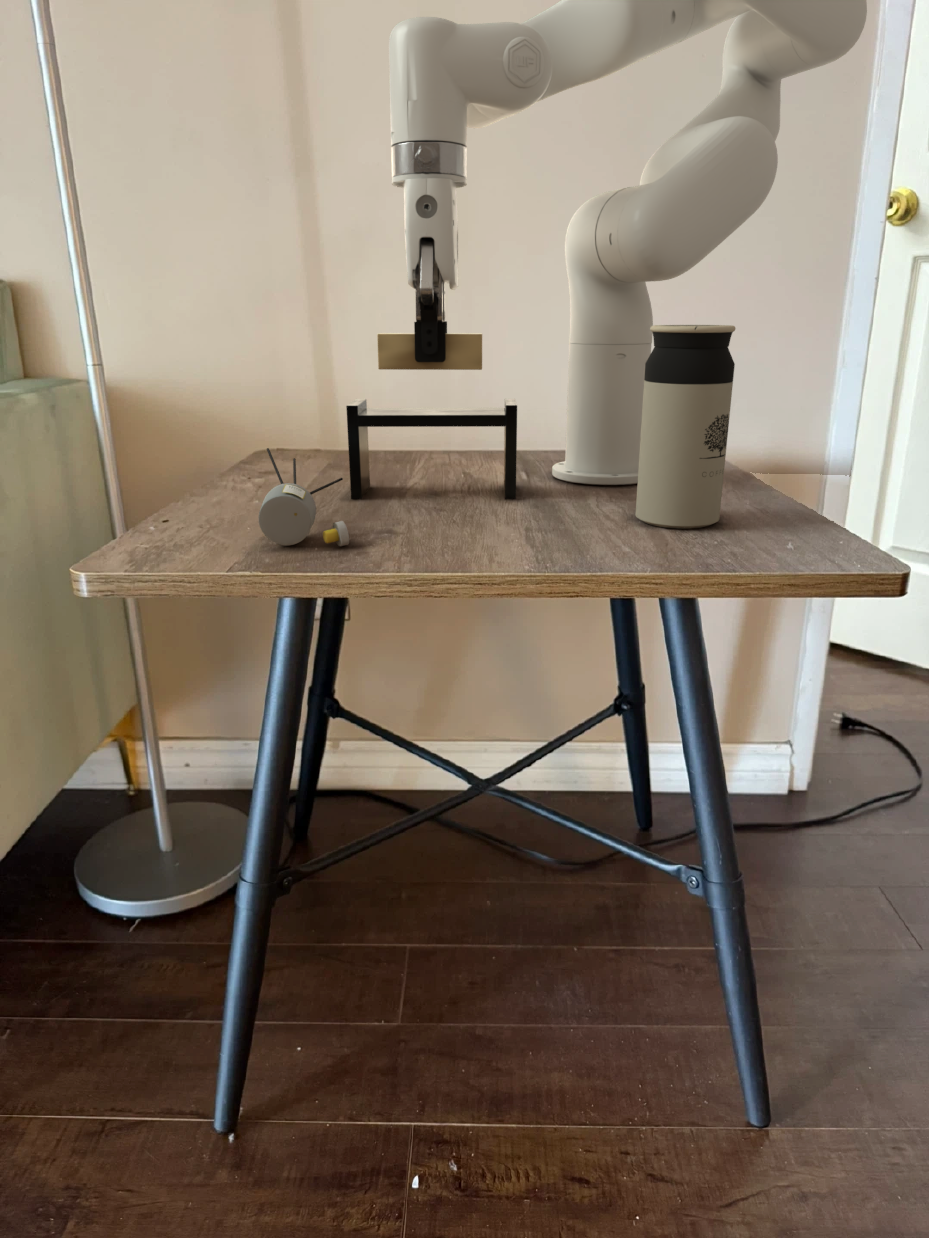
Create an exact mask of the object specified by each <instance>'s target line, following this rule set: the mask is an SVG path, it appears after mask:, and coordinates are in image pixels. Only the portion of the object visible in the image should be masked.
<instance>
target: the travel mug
mask: <svg viewBox="0 0 929 1238" xmlns="http://www.w3.org/2000/svg"><path fill="white" fill-rule="evenodd" d="M736 329H737V328H736V326H735V325H732V324H731V325H729V324H653V326H651V328H650V330H651V331H652V332H653V335H652V339H653V346H654V347H653V349H652V350H651V354H650V356H649V358H648V360H647V361H646V363H645V377H644V380H645V381H644V393H643V408H642V423H641V439H640V454H639V469H638V483H637V487H636V500H635V517H636V518H637V519H638V520H640V521H641V522H643V523H645V524H647V525H651V526H654V527H659V528H666V529H681V530H688V529H689V530H690V529H701V528H706V527H709V526H711V525H713V524H715V523H717V522H719V520H720V518H721V517H720V516H721V506H722V497H723V485H724V476H725V475H724V474H725V466H726V458H727V457H726V454H727V448H728V447H727V445H728V435H729V428H730V427H729V426H730V415H731V405H732V396H733V386H734V385H733V384H734V376H735V365H736V363H735V361H734V358H733V356H732V354H731V351H730V349H729V346H730V343H731V338H732V336H733V332H735V331H736Z"/></svg>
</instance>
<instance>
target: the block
mask: <svg viewBox="0 0 929 1238" xmlns="http://www.w3.org/2000/svg"><path fill="white" fill-rule="evenodd" d="M376 336H377V337H376V338H377V368H378V370H400V371H401V370H403V371H404V370H406V371H408V370H409V371H410V370H414V371H415V370H416V371H417V370H418V371H419V370H420V371H423V370H425V371H426V370H427V371H428V370H429V371H430V370H431V371H432V370H433V371H434V370H437V371H439V370H441V371H442V370H443V371H446V370H449V371H450V370H451V371H452V370H453V371H458V370H459V371H462V370H463V371H466V370H469V371H471V370H472V371H482V370H483V333H481V332H447V333H446V359H445V361H444V362H417V361H416V360H415V333H414V332H380V333H377V334H376Z"/></svg>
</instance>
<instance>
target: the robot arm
mask: <svg viewBox="0 0 929 1238" xmlns="http://www.w3.org/2000/svg"><path fill="white" fill-rule="evenodd" d="M867 4H868V3H867V0H559V1H558V2H555V4H553V5H551V6H550V7H548V8H547V9H545V10H543V11H541V12H539V13H538V14H536V15H534V16H532V17H530V18H528V19H527V20H525V21H523V22H520V23H519V22H513V21H501V22H499V21H498V22H487V23H457V22H454V21H453V20H449V19H446V18H442V17H437V16H416V17H411V18H407V19H404V20H402V21H399V22H398V23H397V24H396V25H395V26H393V27H392V30H391V32H390V33H389V38H388V76H389V77H388V78H389V79H388V81H389V82H388V83H389V115H390V116H389V118H390V119H389V120H390V121H389V123H390V158H391V159H390V160H391V161H390V162H391V185H392V186H393V187H397V188H402V189H403V219H404V220H403V223H404V247H405V250H404V251H405V263H406V276H407V283H408V285H409V287H411V288H412V289H414V292H415V321H414V322H413V324H414V326H413V328H414V330H413V333H415V360H416V361H417V362H444V361H445V359H446V333H448V321H447V320H446V284H448V285H449V290H451V291H455V290H456V289H458V287H459V213H458V212H459V211H458V195H457V194H458V193H457V189H460V188H464V187H467V185H468V177H467V175H468V174H467V173H468V172H467V171H468V169H467V168H468V165H467V164H468V159H467V158H468V153H467V152H468V129H482V128H487V127H489V126H491V125H493V124H496V123H497V122H499V121H502V120H504V119H507V118H510V117H513V116H514V115H517V114H520V113H522V112H524V111H526V110H528V109H529V108H531V107H533V105H535V104H536V103H539V102H541V101H544V100H545V99H548V98H550V97H552V96H554V95H557V94H560V93H563V92H564V91H567V90H569V89H573V88H575V87H579V86H582V85H586V84H588V83H589V84H590V83H592V82H596V81H599V80H601V79H604V78H606V77H609V76H611V75H613V74H615V73H617V72H620V71H622V70H624V69H627V68H628V67H631V66H633V65H635V64H637V63H639V62H641V61H643V60H646V59H648V58H649V57H651V56H654V55H656V54H659V53H660V52H662V51H664V50H667V49H669V48H671V47H673V46H675V45H678V44H680V43H682V42H684V41H686V40H688V39H690V38H692V37H695V36H697V35H699V34H702V33H704V32H705V31H707V30H710V29H712V28H713V27H715V26H717V25H719V24H722V23H724V22H727V21H729V20H731V19H733V18H734V20H733V21H732V23H731V25H730V26H729V29H728V31H727V32H726V36H725V39H724V44H723V49H722V60H721V61H722V64H721V65H722V68H721V71H722V73H721V84H720V88H719V92H718V94H717V95H716V96H715V98H714V99H713V100H712V101H711V102H710V103H708V105H707V106H706V107H705V108H703V110H701V111H700V112H699V113H698V114H697V115H695V116H694V117H693V118H692V119H691V120H690V121H689V122H687V123H686V124H685V125H684V126H682V127H681V128H680V129H679V130H678V131H677V132H675V133H674V134H673V135H672V136H670V137H669V138H668V139H666V140H665V141H664V142H663V143H662V144H661V145H659V146H658V147H657V149H656V150H655V151H654V152H653V153H652V155H651V156H650V157H649V159H648V160H647V162H646V163H645V165H644V168H643V170H642V173H641V176H640V180H639V184H638V185H634V186H627V187H623V188H618V189H614V190H609V191H605V192H602V193H599V194H597V195H594V196H592V197H591V198H589V199H587V200H586V201H585V202H584V203H582V204H581V205H580V206H579V207H578V208H577V209H576V211H575V212H574V214H573V215H572V216H571V218H570V221H569V223H568V226H567V228H566V232H565V238H564V259H565V268H566V274H567V275H566V276H567V281H568V292H569V341H568V342H569V343H568V367H567V393H566V394H567V396H566V422H565V423H566V425H565V426H566V427H565V450H564V451H565V452H564V453H565V455H564V458H565V459H564V461H563V460H562V461H559V462H557V463H555V464H553V465H552V466H551V475H552V477H554V478H556V479H558V480H560V481H564V482H568V483H575V484H581V485H594V486H625V485H636V484H638V469H639V454H640V439H641V423H642V408H643V393H644V381H645V380H644V377H645V363H646V361H647V360H648V358H649V356H650V354H651V352H652V343H653V332H652V331H651V330H650V328H651V326H654V317H653V307H652V303H651V299H650V295H649V290H648V287H647V283H650V282H663V281H669V280H672V279H675V278H677V277H679V276H681V275H684V274H685V273H686V272H688V271H690V270H691V269H692V268H694V267H695V266H696V265H698V264H699V263H700V262H702V260H704V259H705V258H706V257H707V256H708V255H709V254H711V253H712V252H713V251H714V250H715V249H716V248H718V246H719V245H721V244H722V243H723V242H724V241H725V240H727V239H728V238H729V237H730V235H732V234H733V233H734V232H735V231H736V230H738V229H739V228H740V227H741V226H742V225H743V224H744V223H745V222H746V221H748V220H749V218H751V217H752V216H753V215H754V214H755V213H756V212H757V211H758V210H759V208H760V207H761V206H762V205H763V203H764V202H765V201H766V199H767V197H768V195H769V194H770V192H771V190H772V188H773V185H774V182H775V179H776V175H777V171H778V162H779V161H778V160H779V159H778V148H777V144H776V141H777V138H778V136H779V132H780V127H781V86H782V85H781V84H782V80H783V79H786V78H789V77H791V76H795V75H797V74H800V73H803V72H807V71H811V70H813V69H816V68H819V67H823V66H825V65H828V64H830V63H833V62H835V61H837V60H839V59H840V58H842V57H843V56H845V55H846V54H847V53H848V52H849V51H850V50H851V49H852V48H854V47H855V45H856V44H857V42H858V40H859V39H860V37H861V35H862V33H863V31H864V29H865V25H866V22H867V16H868V5H867Z"/></svg>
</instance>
